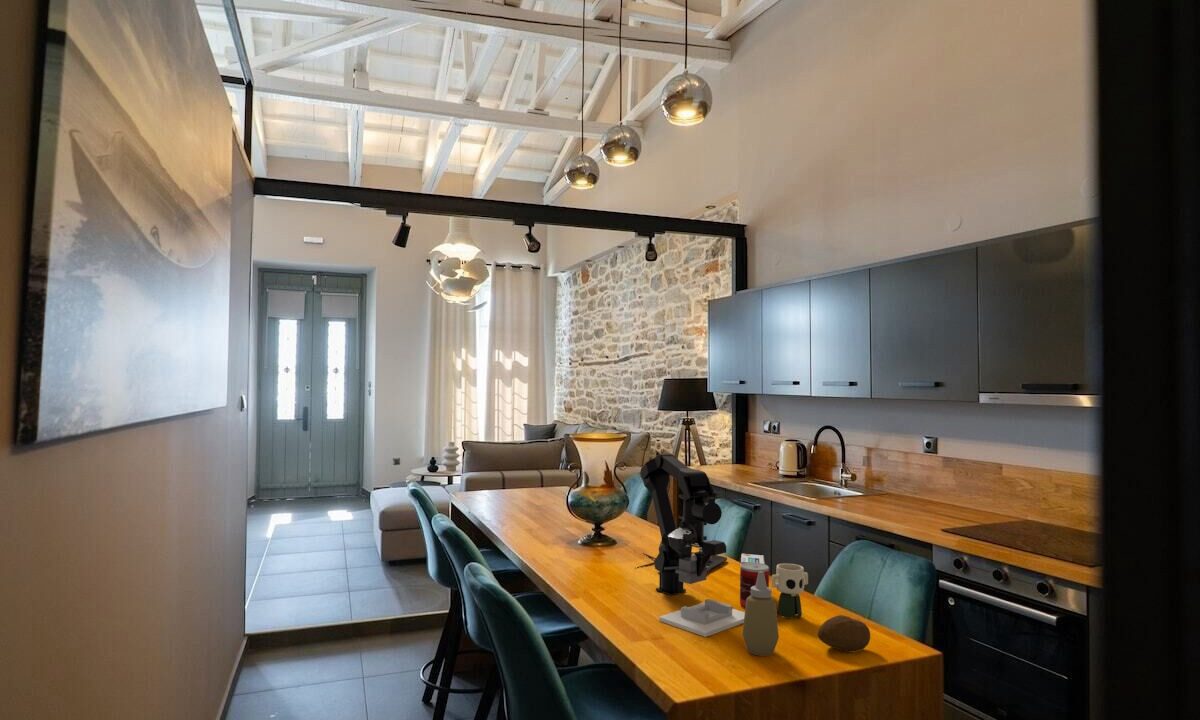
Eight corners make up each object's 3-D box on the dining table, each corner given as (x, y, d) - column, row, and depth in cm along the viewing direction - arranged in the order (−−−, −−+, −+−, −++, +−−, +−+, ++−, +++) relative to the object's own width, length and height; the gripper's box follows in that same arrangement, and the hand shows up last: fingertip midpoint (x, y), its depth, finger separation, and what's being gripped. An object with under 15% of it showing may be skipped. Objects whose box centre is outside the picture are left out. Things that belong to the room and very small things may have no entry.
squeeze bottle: (737, 645, 165) (739, 567, 166) (771, 645, 166) (772, 567, 167) (748, 659, 157) (749, 577, 158) (783, 658, 158) (784, 577, 159)
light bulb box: (764, 602, 199) (765, 563, 199) (740, 600, 200) (740, 561, 200) (763, 591, 209) (764, 554, 210) (740, 589, 211) (741, 553, 211)
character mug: (778, 622, 182) (779, 571, 182) (764, 613, 188) (764, 564, 189) (815, 619, 185) (815, 568, 186) (799, 610, 192) (800, 562, 192)
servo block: (675, 582, 193) (675, 556, 194) (698, 575, 200) (698, 550, 200) (686, 585, 190) (687, 558, 191) (709, 578, 197) (710, 553, 198)
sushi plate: (695, 582, 219) (695, 570, 219) (611, 567, 235) (612, 555, 235) (730, 563, 244) (730, 551, 244) (652, 550, 259) (652, 539, 260)
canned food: (769, 603, 197) (770, 564, 198) (766, 612, 190) (767, 571, 190) (742, 600, 200) (742, 561, 200) (737, 609, 192) (738, 568, 193)
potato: (878, 654, 161) (878, 620, 162) (829, 658, 159) (829, 623, 159) (857, 642, 169) (857, 609, 170) (810, 645, 167) (810, 612, 167)
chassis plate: (658, 620, 181) (659, 607, 181) (707, 604, 195) (707, 592, 195) (705, 636, 170) (705, 622, 171) (753, 618, 184) (753, 605, 184)
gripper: (648, 515, 197) (647, 572, 197) (702, 526, 184) (701, 587, 183) (674, 511, 205) (674, 566, 204) (728, 521, 191) (727, 579, 191)
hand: (692, 574), depth 195 cm, fingers closed on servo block, 4 cm apart
